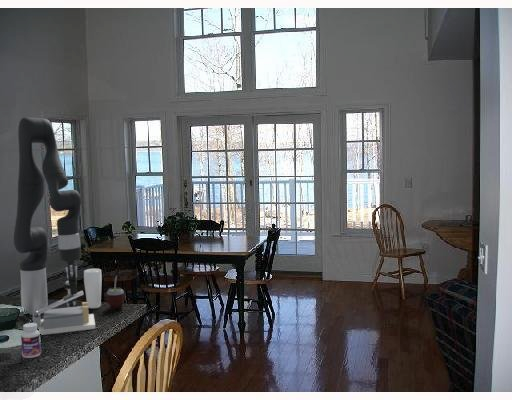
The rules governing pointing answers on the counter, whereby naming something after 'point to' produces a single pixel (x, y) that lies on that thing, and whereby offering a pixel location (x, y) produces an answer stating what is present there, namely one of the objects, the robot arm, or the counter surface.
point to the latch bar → (58, 303)
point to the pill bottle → (30, 341)
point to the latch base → (65, 320)
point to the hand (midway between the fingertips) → (73, 293)
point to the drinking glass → (93, 287)
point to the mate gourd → (115, 297)
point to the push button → (67, 286)
